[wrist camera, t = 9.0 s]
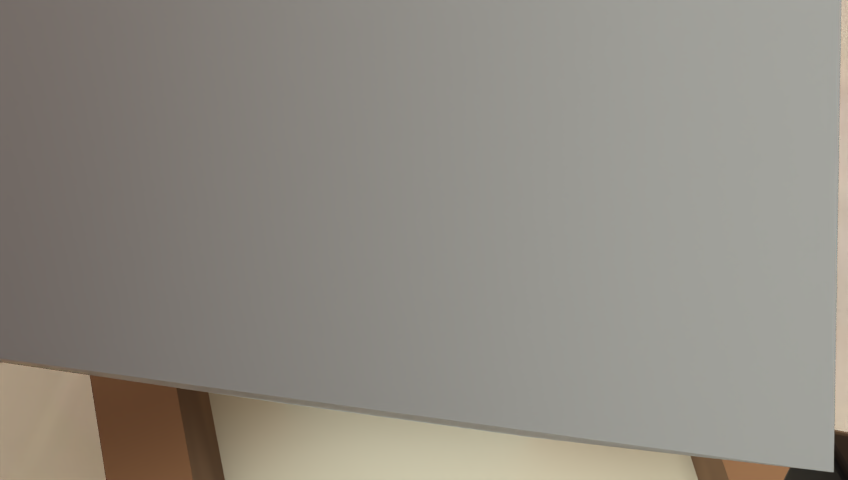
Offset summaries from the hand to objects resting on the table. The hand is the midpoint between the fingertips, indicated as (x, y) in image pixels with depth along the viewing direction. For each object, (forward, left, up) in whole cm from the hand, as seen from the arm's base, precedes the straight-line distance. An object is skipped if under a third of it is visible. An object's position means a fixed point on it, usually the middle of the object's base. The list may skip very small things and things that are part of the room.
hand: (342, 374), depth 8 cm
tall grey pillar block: (+1, -1, -8) cm, 8 cm away
